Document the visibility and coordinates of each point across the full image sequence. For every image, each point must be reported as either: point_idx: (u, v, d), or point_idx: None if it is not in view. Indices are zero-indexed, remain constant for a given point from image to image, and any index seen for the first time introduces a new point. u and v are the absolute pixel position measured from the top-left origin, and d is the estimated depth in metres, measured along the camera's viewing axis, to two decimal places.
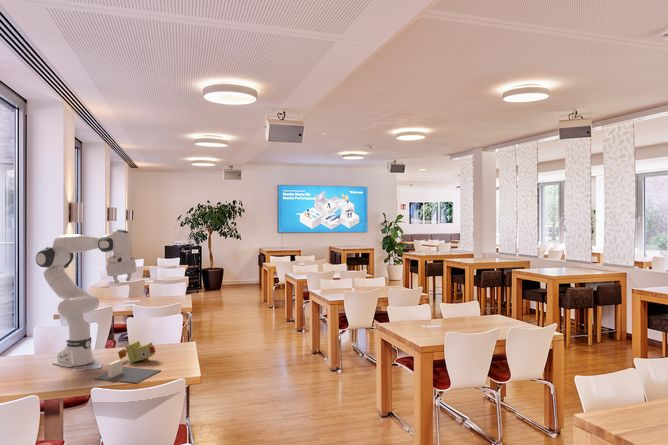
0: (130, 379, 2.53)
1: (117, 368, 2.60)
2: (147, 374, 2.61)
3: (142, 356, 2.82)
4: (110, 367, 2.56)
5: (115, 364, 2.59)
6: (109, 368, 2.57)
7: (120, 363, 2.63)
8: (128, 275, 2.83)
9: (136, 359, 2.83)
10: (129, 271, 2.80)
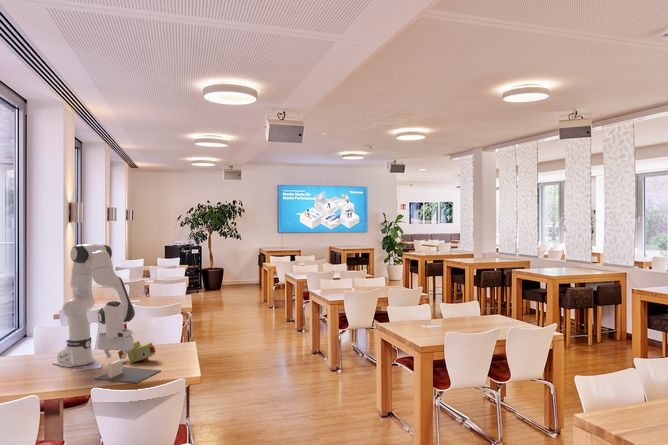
0: (130, 379, 2.53)
1: (117, 368, 2.60)
2: (147, 374, 2.61)
3: (142, 356, 2.82)
4: (110, 367, 2.56)
5: (115, 364, 2.59)
6: (109, 368, 2.57)
7: (120, 363, 2.63)
8: (106, 352, 2.61)
9: (136, 359, 2.83)
10: None
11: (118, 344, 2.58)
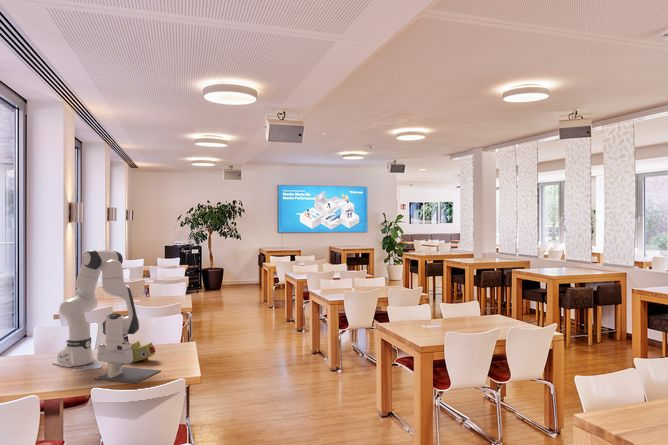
0: (130, 379, 2.53)
1: None
2: (147, 374, 2.61)
3: (142, 356, 2.82)
4: (110, 367, 2.56)
5: (115, 364, 2.59)
6: (109, 368, 2.57)
7: None
8: None
9: (136, 359, 2.83)
10: None
11: (118, 357, 2.58)
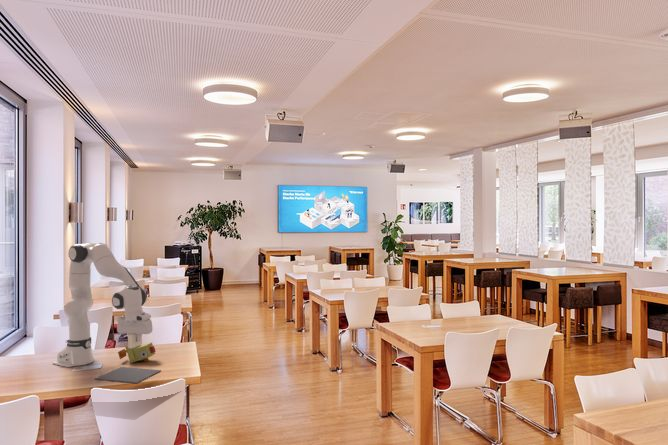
0: (130, 379, 2.53)
1: None
2: (147, 374, 2.61)
3: (142, 356, 2.82)
4: (130, 338, 2.58)
5: (135, 335, 2.60)
6: (129, 338, 2.58)
7: None
8: None
9: (136, 359, 2.83)
10: None
11: (137, 328, 2.59)
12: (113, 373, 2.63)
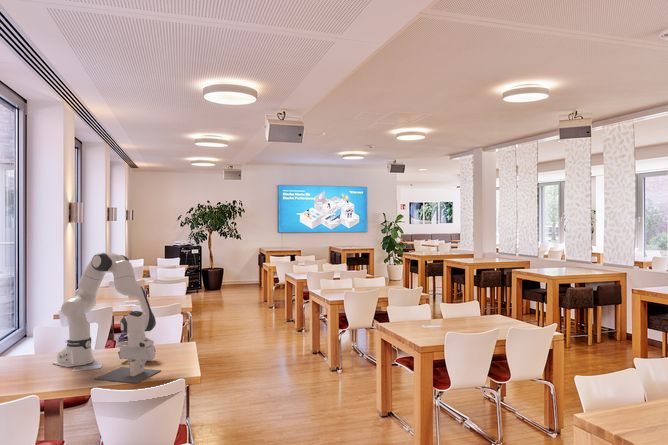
0: (130, 379, 2.53)
1: (139, 366, 2.62)
2: (147, 374, 2.61)
3: None
4: (132, 365, 2.58)
5: (137, 363, 2.61)
6: (131, 366, 2.59)
7: (142, 362, 2.65)
8: (129, 361, 2.63)
9: None
10: None
11: (140, 354, 2.60)
12: (113, 373, 2.63)
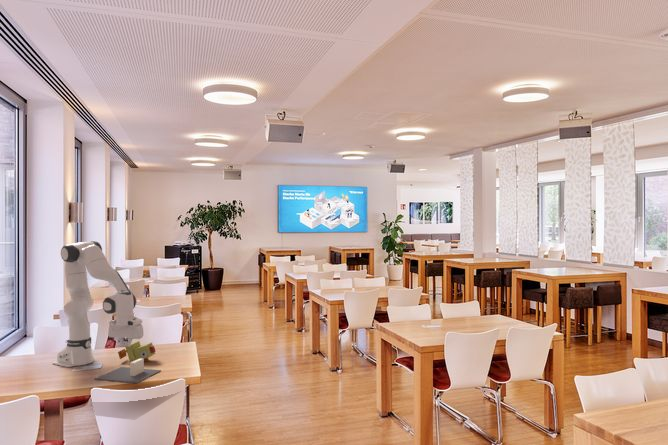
0: (130, 379, 2.53)
1: (139, 366, 2.62)
2: (147, 374, 2.61)
3: (142, 356, 2.82)
4: (132, 365, 2.58)
5: (137, 363, 2.61)
6: (131, 366, 2.59)
7: (142, 362, 2.65)
8: (121, 340, 2.64)
9: (136, 359, 2.83)
10: None
11: (128, 333, 2.61)
12: (113, 373, 2.63)
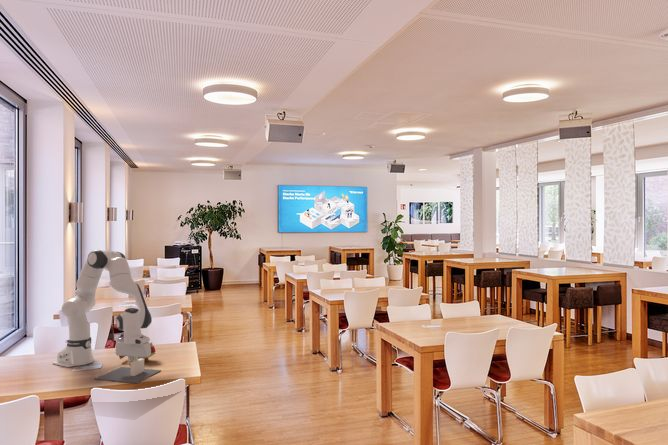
0: (130, 379, 2.53)
1: (139, 367, 2.62)
2: (147, 374, 2.61)
3: None
4: (133, 365, 2.58)
5: (138, 363, 2.61)
6: (132, 366, 2.59)
7: (142, 362, 2.65)
8: (130, 358, 2.63)
9: None
10: None
11: (136, 351, 2.60)
12: (113, 373, 2.63)
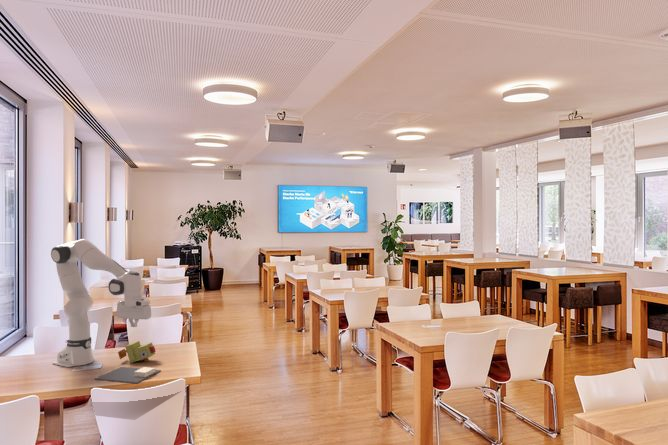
0: (130, 379, 2.53)
1: None
2: None
3: (142, 356, 2.82)
4: (142, 375, 2.57)
5: None
6: (142, 374, 2.57)
7: None
8: (130, 320, 2.66)
9: (136, 359, 2.83)
10: None
11: (136, 313, 2.63)
12: (113, 373, 2.63)
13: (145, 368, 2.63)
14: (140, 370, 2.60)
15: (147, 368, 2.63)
